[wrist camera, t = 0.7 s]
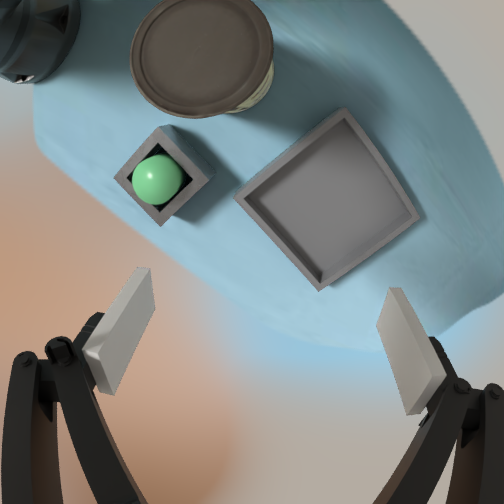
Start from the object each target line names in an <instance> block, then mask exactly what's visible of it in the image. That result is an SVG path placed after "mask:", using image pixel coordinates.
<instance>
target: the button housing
mask: <svg viewBox="0 0 504 504" xmlns="http://www.w3.org/2000/svg"><path fill="white" fill-rule="evenodd" d="M161 147H163V148H164V149H165V150H166V151H167V152H168V153H169V154H170V155H171V156H172V158H173V159H174V160H175V161H176V162H177V163H178V164H179V165H180V166H181V167H182V168H183V169H184V170H185V171H186V172H187V173H188V174H189V175H190V176H191V177H192V178H193V179H194V180H193V181H192V182H191V183H190V184H188V185H187V186H186V187H185V188H184V189H183V190H182V191H181V192H180V193H179V194H178V195H177V196H176V197H175V198H174V199H173V200H172V201H171V202H170V201H169V200H168V201H166V202H164V203H162V204H156V205H154V204H149V203H146V202H144V201H143V200H142V199H140V198H139V197H138V195H137V194H136V192H135V190H134V188H133V184H132V176H133V172H134V170H135V168H136V167H137V165H138V164H139V163H141V162H142V161H144V160H146V159H148V158H150V157H152V156H154V155H155V154H156V152H157V151H158V150H159V149H160V148H161ZM215 173H216V172H215V171H214V170H213V169H212V168H211V166H210V165H209V164H208V163H207V162H206V161H205V160H204V159H203V158H202V157H201V156H200V155H199V154H198V153H197V152H196V151H195V150H194V149H193V148H192V146H191V145H190V144H189V143H188V142H187V141H186V140H185V139H184V138H183V137H182V136H181V135H180V134H179V133H178V132H177V131H176V130H175V129H174V128H173V127H172V126H171V125H170V124H169V125H164V126H159V127H157V128H156V130H155V131H154V132H153V133H152V134H151V135H150V136H149V137H148V138H147V139H146V140H145V142H144V143H143V144H142V145H141V146H140V147H139V148H138V149H137V151H136V152H135V153H134V154H133V155H132V156H131V157H130V159H129V160H128V161H127V162H126V163H125V164H124V166H123V167H122V168H121V169H120V170H119V172H118V173H117V174H116V175H115V177H114V179H115V180H116V181H117V182H118V183H119V184H120V185H121V187H122V188H123V189H124V190H125V191H126V192H127V193H128V194H129V195H130V196H131V197H132V198H133V199H134V200H135V201H136V202H137V203H138V204H139V205H140V206H141V207H142V208H143V209H144V211H145V212H146V213H147V214H148V215H149V216H150V217H151V218H152V219H153V220H154V221H155V222H156V223H157V224H158V225H159V226H160V227H161V226H162V225H163V224H164V223H165V222H166V221H167V220H168V219H169V218H170V217H171V216H172V215H173V214H174V213H175V212H176V211H177V210H178V209H179V208H180V207H181V206H182V205H183V204H185V203H186V202H187V201H188V200H189V199H190V198H191V197H192V196H193V195H194V194H195V193H196V192H197V191H198V190H199V189H201V188H202V187H203V186H204V185H205V184H206V183H207V182H208V181H209V180H210V179H211V178H212V177H213V176H214V174H215Z"/></svg>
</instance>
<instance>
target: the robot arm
mask: <svg viewBox="0 0 504 504" xmlns="http://www.w3.org/2000/svg"><path fill="white" fill-rule="evenodd" d="M79 23H80V6H79V2H78V0H0V77H1V78H3V79H5V80H8V81H10V82H12V83H17V84H26V83H27V84H28V83H35V82H38V81H40V80H42V79H44V78H46V77H47V76H49V75H50V74H51V73H52V72H53V71H54V70H56V68H57V67H58V66H59V65H60V64H61V63H62V61H63V60H64V59H65V57H66V56H67V54H68V52H69V51H70V49H71V47H72V45H73V43H74V40H75V38H76V35H77V32H78V28H79ZM154 310H155V304H154V295H153V288H152V280H151V271H150V268H142V267H137V269H136V270H135V271H134V273H133V274H132V275H131V277H130V278H129V280H128V281H127V283H126V284H125V285H124V287H123V288H122V289H121V291H120V292H119V294H118V295H117V297H116V298H115V300H114V301H113V303H112V304H111V306H110V307H109V308H108V310H107V311H106V313H100V312H97V313H95V314H94V315H93V316H91V317H90V318H89V319H88V321H87V322H86V324H85V326H84V327H83V328H82V330H81V332H79V334H78V335H77V337H76V338H75V340H74V341H73V343H72V341H71V340H70V339H69V338H67V337H63V336H60V337H55V338H53V339H51V340H50V341H49V342H48V343H47V344H46V346H45V353H46V355H47V357H48V359H47V360H46V359H44V360H43V359H42V360H41V359H38V358H37V356H36V355H35V353H33V352H31V351H25V352H22V353H20V354H18V355H17V356H16V357H15V359H14V361H13V365H12V370H11V376H10V381H9V387H8V394H7V401H6V409H5V417H4V427H3V441H2V462H1V482H2V483H1V485H2V504H63V497H62V491H61V482H60V472H59V459H58V443H57V402H60V403H61V407H62V410H63V414H64V417H65V421H66V424H67V427H68V430H69V433H70V436H71V439H72V442H73V445H74V448H75V451H76V453H77V456H78V459H79V461H80V464H81V466H82V469H83V471H84V474H85V476H86V479H87V481H88V483H89V485H90V488H91V490H92V492H93V494H94V497H95V499H96V501H97V503H98V504H148V503H147V501H146V500H145V498H144V496H143V494H142V493H141V491H140V489H139V488H138V486H137V484H136V482H135V481H134V479H133V477H132V475H131V473H130V471H129V469H128V468H127V466H126V464H125V462H124V460H123V458H122V456H121V454H120V452H119V450H118V448H117V446H116V443H115V441H114V439H113V437H112V435H111V433H110V431H109V428H108V426H107V424H106V422H105V419H104V417H103V414H102V412H101V410H100V407H99V405H98V402H97V399H96V397H95V394H94V392H93V389H94V387H95V385H97V387H98V390H99V391H100V392H102V393H106V394H110V395H115V392H116V390H117V388H118V386H119V384H120V381H121V379H122V377H123V375H124V373H125V371H126V368H127V366H128V364H129V362H130V360H131V358H132V356H133V353H134V351H135V349H136V347H137V345H138V343H139V341H140V339H141V337H142V335H143V333H144V330H145V328H146V326H147V325H148V322H149V320H150V318H151V316H152V314H153V312H154ZM376 327H377V329H378V332H379V335H380V337H381V340H382V343H383V345H384V348H385V351H386V354H387V357H388V359H389V362H390V365H391V368H392V371H393V374H394V377H395V380H396V383H397V386H398V389H399V392H400V395H401V398H402V402H403V405H404V408H405V412H406V415H414V414H421V412H422V411H423V409H424V408H425V407H427V410H428V413H427V415H426V416H425V417H424V419H423V420H422V421H421V422H420V424H419V426H420V428H419V429H418V431H417V433H416V435H415V437H414V439H413V441H412V442H411V444H410V446H409V448H408V450H407V451H406V453H405V455H404V456H403V458H402V460H401V461H400V463H399V465H398V466H397V468H396V470H395V471H394V473H393V475H392V476H391V478H390V479H389V481H388V482H387V484H386V485H385V487H384V488H383V490H382V491H381V493H380V494H379V495H378V497H377V498H376V500H375V501H374V502H373V504H427V502H428V500H429V498H430V497H431V495H432V493H433V491H434V489H435V487H436V485H437V482H438V481H439V479H440V477H441V474H442V472H443V470H444V468H445V466H446V463H447V461H448V459H449V457H450V454H451V452H452V449H453V447H454V444H455V442H456V439H457V443H456V451H455V458H454V464H453V470H452V476H451V481H450V487H449V491H448V496H447V500H446V504H504V390H503V389H502V388H501V387H500V386H499V385H497V384H493V383H490V384H488V385H487V386H486V387H485V389H484V390H479V389H473V388H471V385H470V384H469V383H468V382H467V381H466V380H464V379H462V378H458V376H457V374H456V372H455V370H454V368H453V366H452V364H451V362H450V360H449V359H448V358H447V355H446V353H445V352H444V349H443V347H442V345H441V343H440V342H439V341H438V340H437V339H436V338H435V337H428V336H427V334H426V332H425V330H424V328H423V326H422V325H421V323H420V321H419V319H418V317H417V315H416V313H415V312H414V310H413V308H412V306H411V304H410V303H409V301H408V299H407V297H406V296H405V294H404V292H403V290H402V289H401V288H394V287H389V290H388V293H387V296H386V299H385V302H384V305H383V308H382V311H381V313H380V316H379V319H378V322H377V325H376Z"/></svg>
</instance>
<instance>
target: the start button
mask: <svg viewBox="0 0 504 504" xmlns="http://www.w3.org/2000/svg"><path fill="white" fill-rule="evenodd" d="M186 175H187V173H186V171H185V170H184V169H183V168H182V167H181V166H180V165H179V164H178V163H177V162H176V161H175V160H174V159H173V158H172V156H171V155H170V154H169V153H168V152H163V153H159V154H157V155H154V156H152V157H150V158H148V159H146V160H144V161H142V162H141V163H139V164H138V165H137V167H136V168H135V170H134V172H133V176H132V184H133V188H134V190H135V192H136V194H137V195H138V197H139V198H140V199H142V200H143V201H144V202H146V203H149V204H154V205H156V204H162V203H164V202H166V201H168V200H169V199H170V198H171V197H172V196H173V195H174V194H175V193H176V192H178V191H179V190H180V189H181V188H182V186H183V185H184V183H185V181H186Z"/></svg>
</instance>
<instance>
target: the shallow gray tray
mask: <svg viewBox="0 0 504 504" xmlns="http://www.w3.org/2000/svg"><path fill="white" fill-rule="evenodd" d="M233 199H234V200H235V201H236V202H237V203H238V204H239V205H240V206H241V207H242V208H243V209H244V210H245V211H246V213H247V214H248V215H249V216H250V217H251V218H252V219H253V220H254V221H255V222H256V223H257V224H258V225H259V227H260V228H261V229H262V230H263V231H264V232H265V233H266V234H267V235H268V236H269V237H270V239H271V240H272V241H273V242H274V243H275V244H276V245H277V246H278V247H279V248H280V249H281V251H282V252H283V253H284V254H285V255H286V256H287V257H288V258H289V259H290V260H291V262H292V263H293V264H294V265H295V266H296V267H297V268H298V269H299V270H300V272H301V273H302V274H303V275H304V276H305V277H306V278H307V279H308V280H309V282H310V283H311V284H312V285H313V286H314V287H315V288H316V289H317V290H318V292H319V291H320V290H322V289H323V288H325V287H326V286H328V285H329V284H331V283H332V282H334V281H335V280H336V279H338V278H339V277H341V276H342V275H344V274H345V273H347V272H348V271H349V270H351V269H352V268H354V267H355V266H356V265H358V264H359V263H361V262H362V261H364V260H365V259H366V258H368V257H369V256H370V255H372V254H373V253H375V252H376V251H377V250H379V249H380V248H381V247H383V246H384V245H386V244H387V243H388V242H390V241H391V240H392V239H394V238H395V237H396V236H398V235H399V234H400V233H402V232H403V231H404V230H406V229H407V228H408V227H409V226H411V225H412V224H413V223H415V222H416V221H417V220H419V219H420V216H419V215H418V213H417V211H416V209H415V208H414V206H413V204H412V203H411V201H410V199H409V198H408V196H407V194H406V193H405V191H404V189H403V188H402V186H401V185H400V183H399V181H398V180H397V178H396V177H395V175H394V174H393V172H392V171H391V169H390V168H389V166H388V165H387V163H386V162H385V160H384V159H383V157H382V156H381V154H380V153H379V151H378V150H377V148H376V147H375V146H374V144H373V143H372V141H371V140H370V139H369V137H368V136H367V135H366V133H365V132H364V130H363V129H362V128H361V126H360V125H359V124H358V122H357V121H356V120H355V119H354V117H353V116H352V115H351V113H350V112H349V111H348V110H347V108H346V107H340V108H338V109H337V110H336V111H334V112H333V113H332V114H330V115H329V116H328V117H327V118H325V119H324V120H323V121H321V122H320V123H319V124H318V125H316V126H315V127H314V128H312V129H311V130H310V131H309V132H307V133H306V134H305V135H304V136H302V137H301V138H300V139H299V140H297V141H296V142H295V143H294V144H292V145H291V146H290V147H289V148H287V149H286V150H285V151H284V152H282V153H281V154H280V155H279V156H277V157H276V158H275V159H274V160H273V161H271V162H270V163H269V164H268V165H267V166H265V167H264V168H263V169H262V170H261V171H259V172H258V173H257V174H256V175H255V176H253V177H252V178H251V179H250V180H249V181H247V182H246V183H245V184H244V185H243V186H242V187H240V188H239V189H238V190H237V191H236V192H235V194H234V197H233Z"/></svg>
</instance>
